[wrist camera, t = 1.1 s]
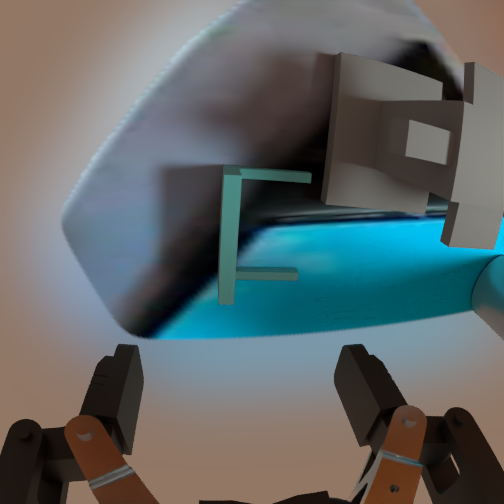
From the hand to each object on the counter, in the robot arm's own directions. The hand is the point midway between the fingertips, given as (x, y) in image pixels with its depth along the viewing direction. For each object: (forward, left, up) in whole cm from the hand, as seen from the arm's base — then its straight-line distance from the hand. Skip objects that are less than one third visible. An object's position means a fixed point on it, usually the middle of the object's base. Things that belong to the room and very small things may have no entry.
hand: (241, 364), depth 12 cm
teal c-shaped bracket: (-3, 0, -17) cm, 17 cm away
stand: (-13, -9, -17) cm, 23 cm away
